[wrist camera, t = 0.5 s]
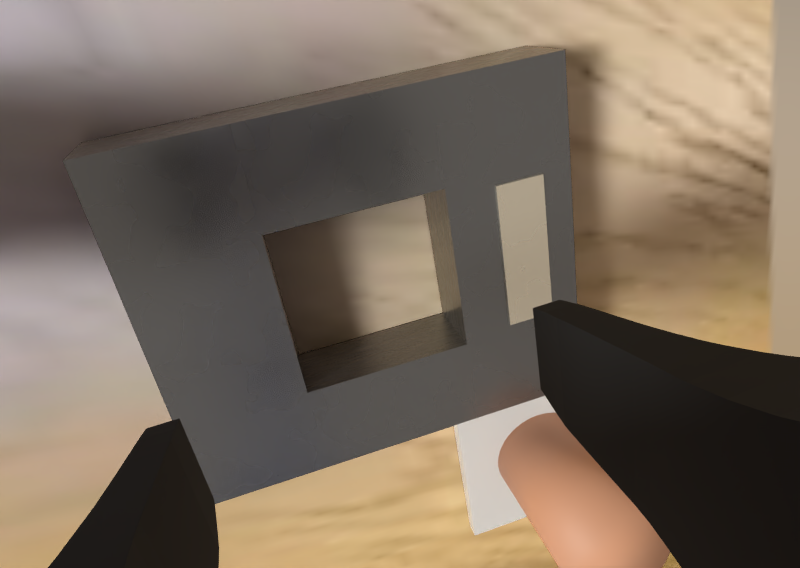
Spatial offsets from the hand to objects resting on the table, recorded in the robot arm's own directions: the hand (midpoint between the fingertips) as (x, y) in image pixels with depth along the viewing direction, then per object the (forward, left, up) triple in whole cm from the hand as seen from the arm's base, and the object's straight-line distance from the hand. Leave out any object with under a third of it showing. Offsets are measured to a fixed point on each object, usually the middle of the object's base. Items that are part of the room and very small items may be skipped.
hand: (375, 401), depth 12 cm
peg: (-12, -7, -9) cm, 17 cm away
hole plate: (-1, -1, -10) cm, 10 cm away
